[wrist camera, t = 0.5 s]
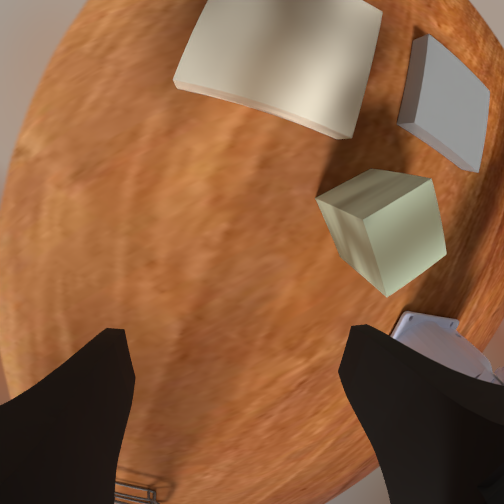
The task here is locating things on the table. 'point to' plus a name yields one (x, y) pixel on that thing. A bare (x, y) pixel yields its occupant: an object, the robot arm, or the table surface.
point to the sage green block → (385, 226)
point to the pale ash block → (285, 58)
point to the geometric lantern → (153, 501)
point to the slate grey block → (445, 104)
